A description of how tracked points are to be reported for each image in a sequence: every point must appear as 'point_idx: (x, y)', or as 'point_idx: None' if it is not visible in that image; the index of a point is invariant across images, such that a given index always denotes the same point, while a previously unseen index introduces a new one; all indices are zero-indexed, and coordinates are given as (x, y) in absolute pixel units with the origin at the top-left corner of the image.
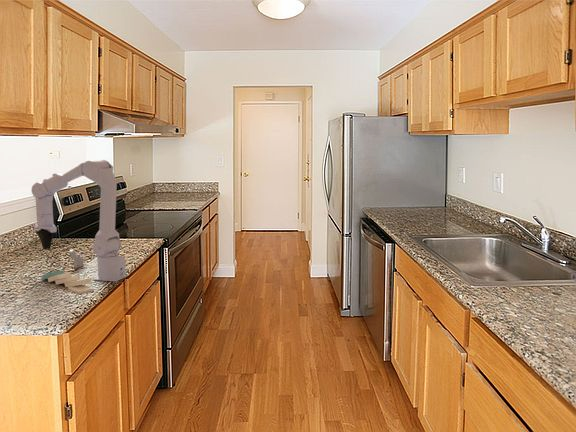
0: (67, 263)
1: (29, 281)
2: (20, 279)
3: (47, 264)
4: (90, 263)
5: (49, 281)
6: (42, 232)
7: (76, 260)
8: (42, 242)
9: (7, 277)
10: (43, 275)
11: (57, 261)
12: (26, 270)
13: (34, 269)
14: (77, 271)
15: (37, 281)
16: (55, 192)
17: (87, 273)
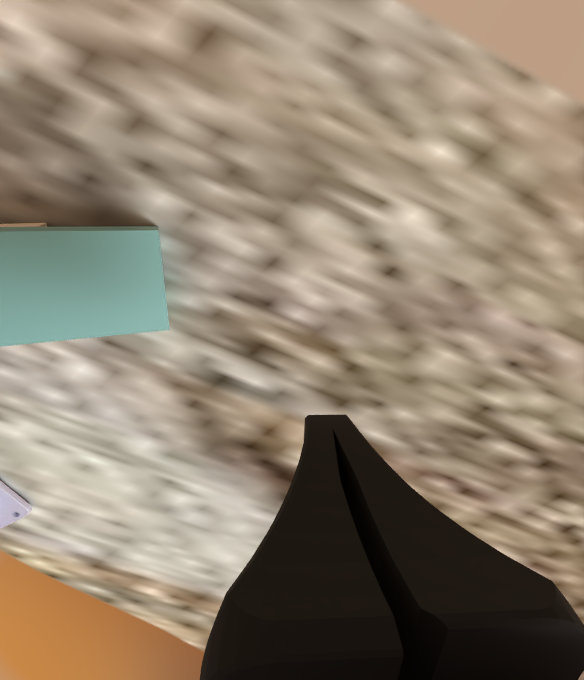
0: (456, 493)
1: (169, 130)
2: (287, 107)
3: (537, 420)
4: None
5: (23, 223)
6: (208, 671)
7: None
8: (349, 465)
9: (438, 55)
10: (117, 229)
11: (549, 480)
12: (515, 269)
13: (492, 318)
14: (231, 457)
15: (129, 176)
16: None
17: (144, 471)
